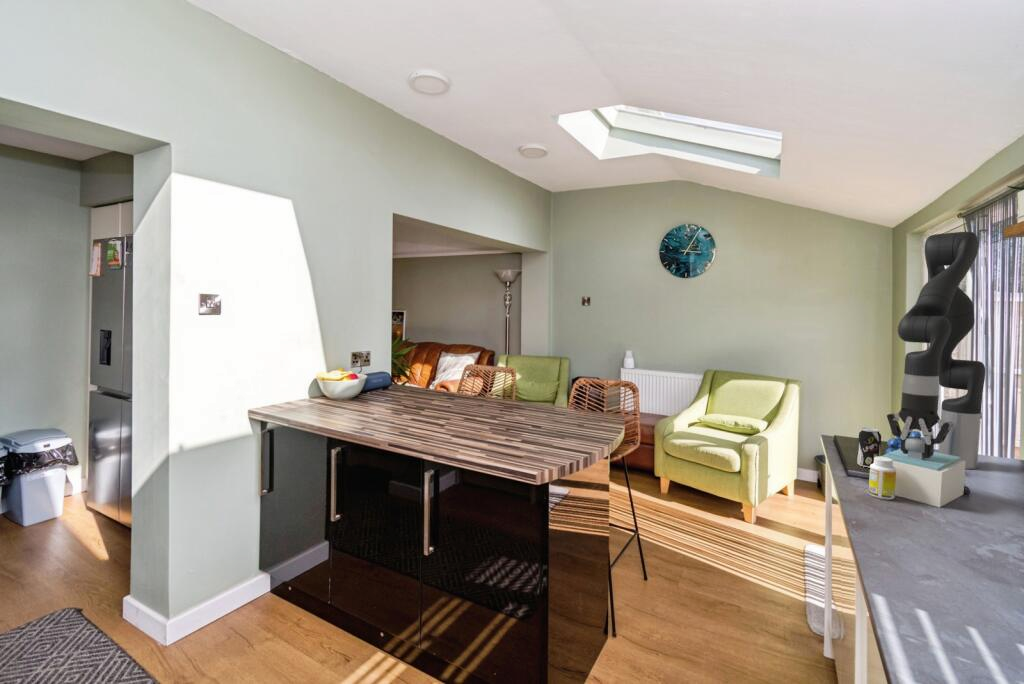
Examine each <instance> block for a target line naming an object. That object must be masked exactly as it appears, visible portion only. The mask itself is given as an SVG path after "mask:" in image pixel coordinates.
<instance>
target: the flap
mask: <svg viewBox="0 0 1024 684" xmlns="http://www.w3.org/2000/svg"><path fill="white" fill-rule="evenodd" d="M925 444H926V442H925V440H924V439H919V438H913V437H907V439H906V442H905V448H906V450H908V454H903V451H901V449H898V450H895V451H892V452H889V453H888V454H889V455H893V456H898V457H902V458H907V459H912V460H916V461H921V462H925V463H930V464H935V465H939V466H942V467H945V466H947V465H949V464H951V463H954V462H956V461H958V460H960V458H961V457H957V456H952V455H947V454H942V453H939V452H935V451H934V453H933V456H931V457H930V458H928V459H927V458H924V451H925Z"/></svg>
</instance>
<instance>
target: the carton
mask: <svg viewBox="0 0 1024 684" xmlns="http://www.w3.org/2000/svg"><path fill="white" fill-rule="evenodd" d="M880 457H887V458H890V459H892V460H893V467H895V468H896V485H895V497H901V498H904V499H908V500H911V501H915V502H919V503H923V504H926V505H929V506H933V507H937V508H942V507H943V506H945V505H947V504H948V503H950V502H952V501H954V500H956V499H957V498H960V497H961V496H963V495H964V489H965V477H966V476H965V475H966V469H965V463H966V461H961V460H958V461H956V462H954V463H951V464H949V465H947V466H945V467H942V466H939V465H935V464H930V463H925V462H921V461H916V460H912V459H907V458H902V457H898V456H893V455H889V454H886V453H885V454H884V455H880Z"/></svg>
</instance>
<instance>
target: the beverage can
mask: <svg viewBox="0 0 1024 684" xmlns="http://www.w3.org/2000/svg"><path fill="white" fill-rule="evenodd" d="M860 429H861V430H859V432H858V437H857V438H858V439H857V461H856V463H857V464H858V465H859V466H860V467H861V466H863V467H862V468H864V467H868V468H870V465H871V464H873V463H874V457H877V456H881V450H882V448H881V446H882V434H881V433H880V430H879V429H877V428H875V427H874V428H872V427H861V428H860ZM868 468H867V469H868Z"/></svg>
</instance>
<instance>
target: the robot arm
mask: <svg viewBox="0 0 1024 684" xmlns="http://www.w3.org/2000/svg"><path fill="white" fill-rule="evenodd" d="M978 252H979V239H978V236H977V234H976V233H975V232H974V231H958V232H957V231H955V232H946V233H937V234H932V235H931V234H930V235H929V236H928V237H927V238H926V240H925V244H924V258H925V259H924V260H925V264H926V268H927V273H928V279H929V280H928V281H927V282H926V283H925V284H924V285H923V286H922V288H921V290H920V292H919V295H918V297H917V300H916V302H915V304H914V305H913V306H912V307H911V308H910V309H909V311H908V312H907V313H905V315H903V317H902V318H901V319H900V321H899V323H898V325H897V334H898V336H899V338H900V339H901V340H902V341H904V342H905V343H907V342H908V343H920V344H921V343H922V344H923V343H924V344H929V346H928V347H927V349H925V350H918V351H917V350H916V351H910V352H908V353H906V354H905V357H904V372H903V378H902V383H901V384H902V385H901V398H900V399H901V403H900V411H899V412H898V413H897V412H896V413H893V412H892V413H889V414H887V415H886V419H887V421H888V424H889V427H890V431H891V433H892V435H893V437H896V436H897V437H899V438H900V439H901V451H903V454H908V450H906V448H905V442H906V439H907V437H910V434H911V432H912V431H914V430H916V431H919V432H920V431H921V435H922V437H924V438H925V442H926V444H925V451H924V458H927V459H928V458H930V457H931V456H933V453H934V452H935V445H938V453H942V454H947V455H952V456H957V457H961V458H960V460H961V461H966V463H965V470H966V469H967V470H975V469H977V468H978V460H979V449H980V448H979V447H980V446H979V445H980V433H981V417H982V415H981V414H982V405H983V404H982V403H983V393H984V388H985V387H984V386H985V381H986V366H985V364H984V363H983V362H982V361H981V360H971V359H970V360H969V359H954V358H953V352H954V350H955V349H956V347H957V346H958V345H959V343H961V341H962V340H964V338H965V337H966V336H968V334H970V332H971V331H972V329H973V328H974V326H975V308H974V307H975V305H974V302H973V301H972V298H970V296H968V294H966V293H965V291H964V290H963V289H961V288H960V287H959V286H960V284H961V282H962V281H963V280H964V278H965V277H966V276H967V274H968V272H969V270H970V268H971V267H972V266H973V264H974V262H975V260H976V259H977V255H978V254H979V253H978ZM945 266H946V267H947V266H948V267H947V268H946V267H945ZM940 386H941V387H943V388H947V389H953V390H954V389H956V390H964V391H967V392H966V394H965V395H964V394H963V395H962V396H959V397H954V398H947V399H944V400H942V402H941V410H940V411H941V412H940V416H939V413H938V411H939V400H940V399H939V398H940ZM900 419H901V421H902V422H903V423H904V424H903V428H902V430H901V426H900V424H899V420H900ZM935 425H938V429H939V431H938V432H937V435H936V436H934V433H935V432H934V430H933V429H934V428H933V427H934V426H935Z"/></svg>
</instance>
